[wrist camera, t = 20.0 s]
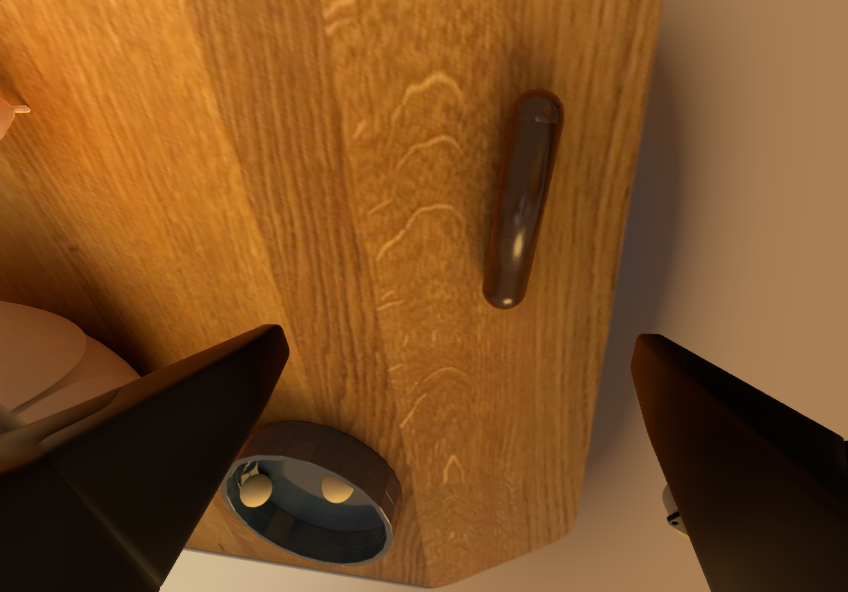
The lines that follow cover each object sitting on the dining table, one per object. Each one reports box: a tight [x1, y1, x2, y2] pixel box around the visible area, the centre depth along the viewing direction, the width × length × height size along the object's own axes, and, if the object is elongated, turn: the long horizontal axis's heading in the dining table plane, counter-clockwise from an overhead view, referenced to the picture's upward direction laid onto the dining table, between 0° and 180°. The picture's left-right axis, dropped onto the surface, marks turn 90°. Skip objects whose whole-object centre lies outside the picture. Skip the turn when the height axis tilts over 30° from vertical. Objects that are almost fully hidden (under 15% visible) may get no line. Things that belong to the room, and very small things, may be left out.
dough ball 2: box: [322, 474, 354, 503], centre depth 31 cm, size 3×3×3 cm
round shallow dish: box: [221, 421, 402, 567], centre depth 33 cm, size 16×16×4 cm
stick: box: [482, 89, 565, 309], centre depth 18 cm, size 11×2×2 cm
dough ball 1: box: [240, 474, 272, 507], centre depth 34 cm, size 3×3×3 cm
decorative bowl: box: [0, 301, 141, 435], centre depth 27 cm, size 30×30×15 cm
